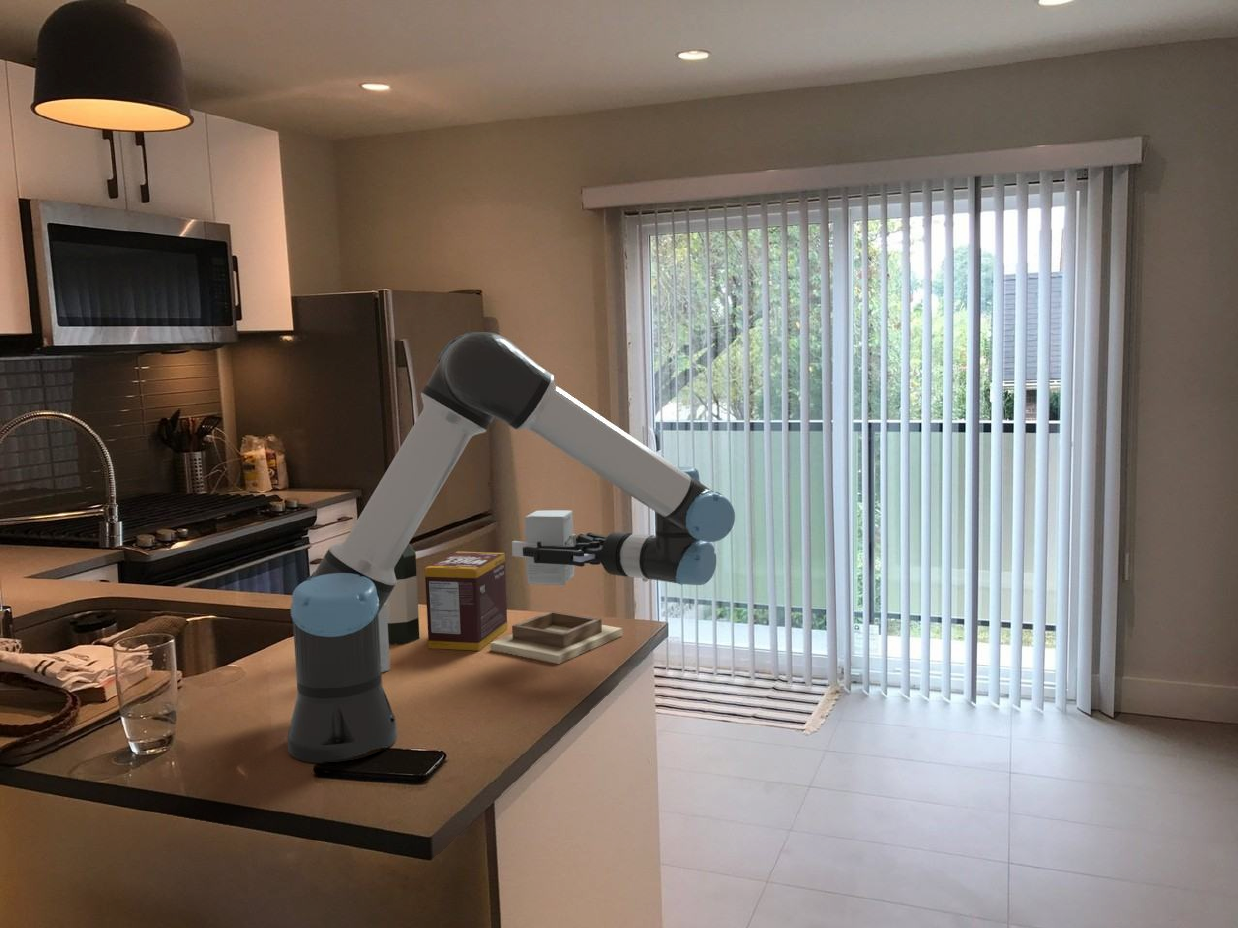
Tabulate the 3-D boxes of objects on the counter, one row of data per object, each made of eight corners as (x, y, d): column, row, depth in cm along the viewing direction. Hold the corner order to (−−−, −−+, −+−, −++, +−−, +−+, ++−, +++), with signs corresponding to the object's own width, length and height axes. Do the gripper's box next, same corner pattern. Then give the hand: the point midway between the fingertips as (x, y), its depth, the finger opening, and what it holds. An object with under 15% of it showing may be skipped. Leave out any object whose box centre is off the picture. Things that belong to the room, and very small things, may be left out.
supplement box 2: (565, 585, 180) (562, 516, 178) (526, 584, 181) (523, 516, 180) (576, 576, 187) (573, 509, 185) (538, 575, 188) (535, 509, 187)
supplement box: (508, 628, 200) (505, 551, 198) (479, 651, 185) (475, 569, 183) (460, 626, 202) (457, 550, 201) (427, 648, 188) (423, 567, 186)
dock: (558, 664, 176) (558, 642, 176) (490, 650, 185) (489, 629, 185) (622, 635, 193) (621, 615, 192) (556, 624, 202) (556, 605, 201)
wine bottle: (426, 632, 198) (419, 482, 195) (412, 644, 190) (404, 488, 187) (386, 631, 199) (378, 482, 196) (370, 644, 191) (361, 489, 188)
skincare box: (391, 670, 175) (387, 603, 174) (369, 676, 172) (365, 608, 171) (373, 662, 180) (370, 597, 178) (352, 668, 177) (348, 602, 175)
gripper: (593, 590, 164) (492, 575, 177) (665, 564, 182) (568, 552, 195) (592, 545, 164) (490, 533, 176) (664, 523, 181) (566, 514, 194)
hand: (531, 543), depth 186 cm, fingers closed on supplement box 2, 9 cm apart
